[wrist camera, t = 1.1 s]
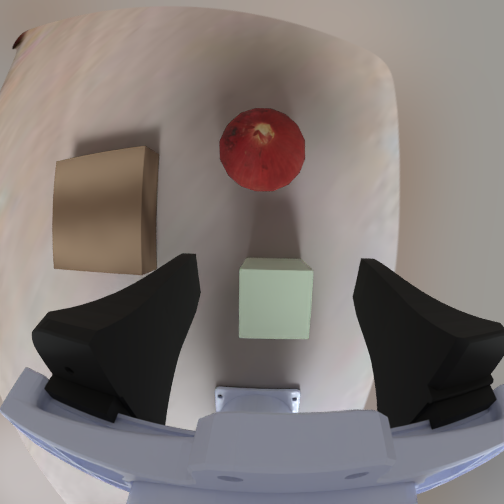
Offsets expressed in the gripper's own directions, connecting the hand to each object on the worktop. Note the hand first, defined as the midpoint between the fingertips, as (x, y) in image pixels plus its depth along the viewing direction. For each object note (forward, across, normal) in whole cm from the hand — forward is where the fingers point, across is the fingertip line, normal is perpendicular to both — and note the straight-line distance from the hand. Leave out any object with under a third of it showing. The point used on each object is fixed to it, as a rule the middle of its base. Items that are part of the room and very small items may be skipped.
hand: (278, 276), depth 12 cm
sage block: (+9, 0, +6) cm, 11 cm away
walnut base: (+10, +15, +1) cm, 18 cm away
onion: (+12, +1, -3) cm, 13 cm away
